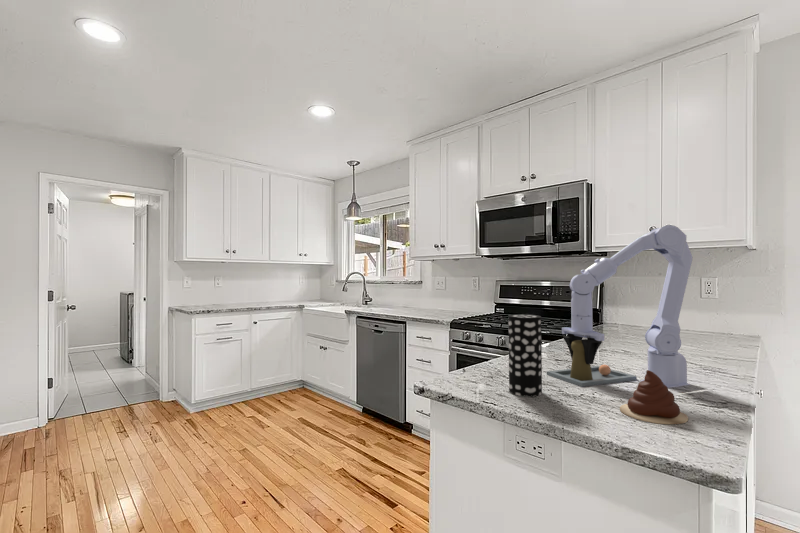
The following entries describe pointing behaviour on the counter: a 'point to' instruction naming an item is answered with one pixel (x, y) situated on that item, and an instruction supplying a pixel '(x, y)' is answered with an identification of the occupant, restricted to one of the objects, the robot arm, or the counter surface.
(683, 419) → the cork coaster
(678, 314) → the robot arm
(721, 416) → the counter surface
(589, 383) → the tray
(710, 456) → the counter surface
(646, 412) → the poop emoji
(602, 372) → the ball
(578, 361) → the pepper shaker
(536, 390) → the spotted tube
